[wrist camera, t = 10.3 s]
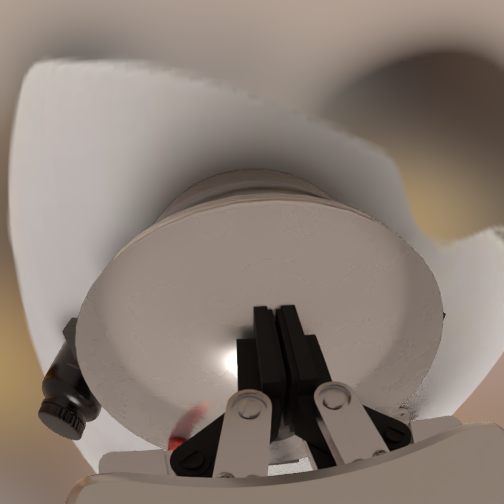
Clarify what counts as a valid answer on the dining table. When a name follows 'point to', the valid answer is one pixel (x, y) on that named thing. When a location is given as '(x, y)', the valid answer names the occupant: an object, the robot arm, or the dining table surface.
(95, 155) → the dining table surface
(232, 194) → the cooker pot
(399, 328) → the cooker lid
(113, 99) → the dining table surface
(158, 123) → the dining table surface
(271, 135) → the dining table surface
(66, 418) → the supplement bottle
